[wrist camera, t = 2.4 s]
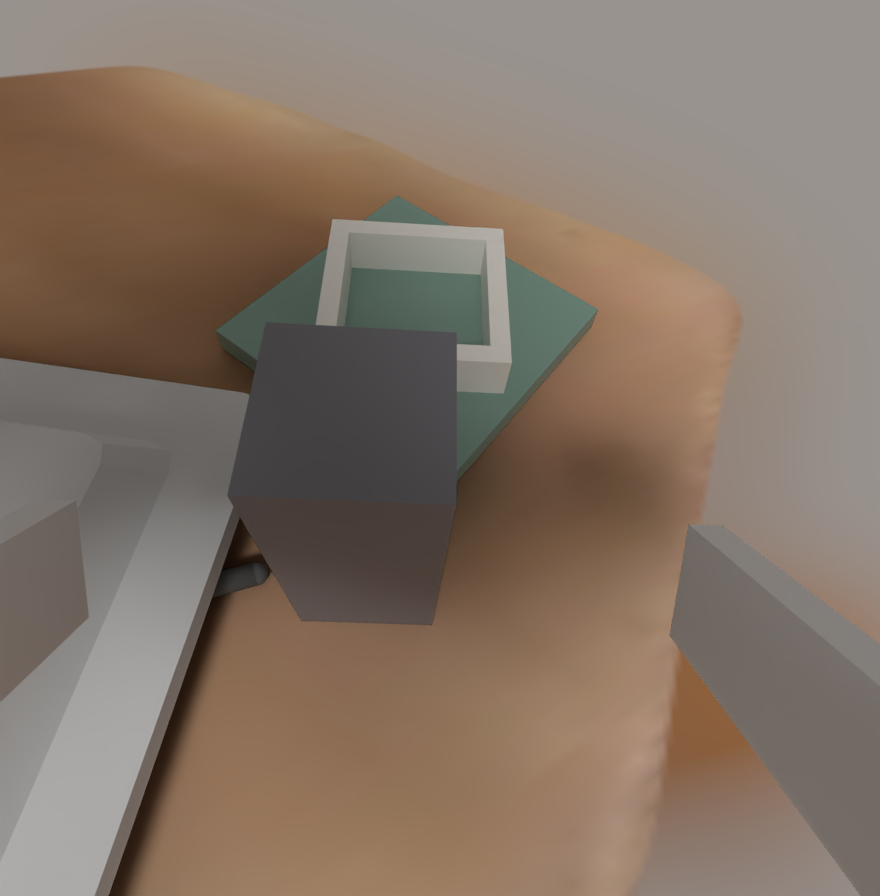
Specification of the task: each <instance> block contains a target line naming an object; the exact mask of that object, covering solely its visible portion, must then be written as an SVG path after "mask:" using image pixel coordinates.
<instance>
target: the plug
mask: <svg viewBox="0 0 880 896" xmlns="http://www.w3.org/2000/svg"><path fill="white" fill-rule="evenodd" d="M227 496H228V498H229V500H230V501H231V503H232V505H233V506H234V508H235V510H236V512H237V513H238V515H239V517H240V518H241V520H242V522H243V523H244V525H245V527H246V528H247V530H248V532H249V533H250V535H251V537H252V538H253V540H254V542H255V544H256V545H257V547H258V549H259V550H260V552H261V554H262V555H263V557H264V559H265V560H266V562H267V564H268V565H269V567H270V569H271V570H272V572H273V574H274V576H275V577H276V579H277V581H278V582H279V584H280V586H281V587H282V589H283V591H284V592H285V594H286V596H287V597H288V599H289V601H290V603H291V604H292V606H293V608H294V609H295V611H296V613H297V614H298V616H299V618H300V619H301V621H322V622H354V623H387V624H419V625H432V621H433V616H434V612H435V607H436V602H437V597H438V592H439V587H440V583H441V578H442V573H443V568H444V563H445V559H446V554H447V549H448V544H449V539H450V534H451V530H452V525H453V520H454V515H455V510H456V506H457V333H456V332H437V331H419V330H400V329H382V328H363V327H345V326H326V325H308V324H289V323H271V322H266V324H265V328H264V333H263V337H262V342H261V346H260V351H259V355H258V359H257V364H256V368H255V373H254V377H253V382H252V386H251V391H250V395H249V400H248V404H247V409H246V413H245V418H244V422H243V427H242V431H241V436H240V440H239V445H238V449H237V454H236V458H235V463H234V467H233V472H232V476H231V481H230V485H229V490H228V494H227Z"/></svg>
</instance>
